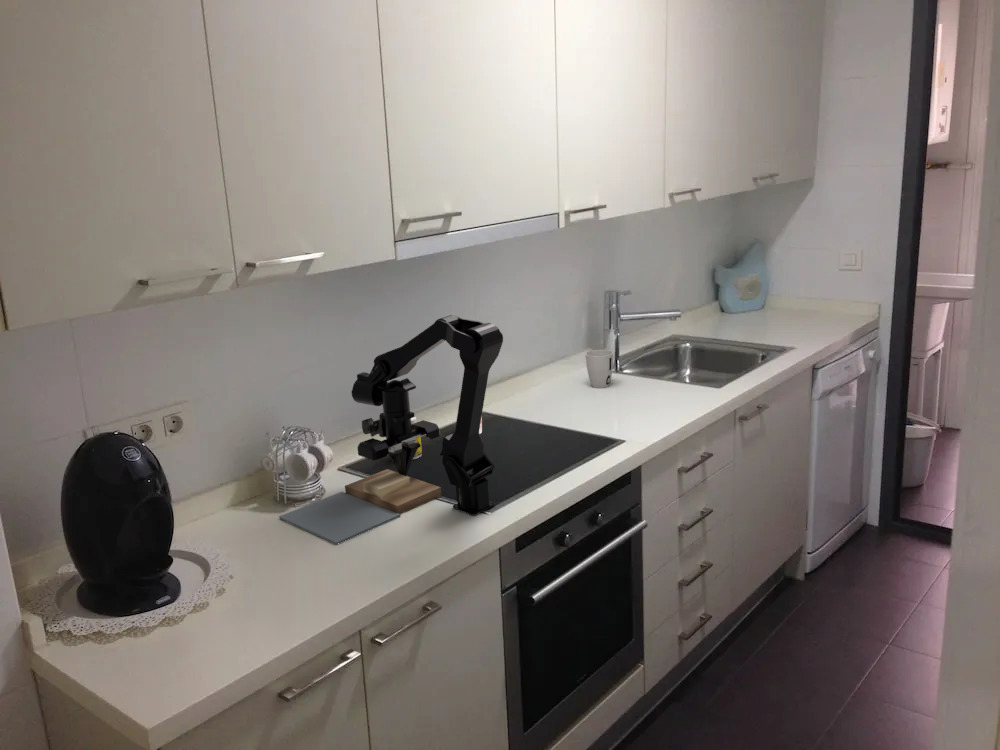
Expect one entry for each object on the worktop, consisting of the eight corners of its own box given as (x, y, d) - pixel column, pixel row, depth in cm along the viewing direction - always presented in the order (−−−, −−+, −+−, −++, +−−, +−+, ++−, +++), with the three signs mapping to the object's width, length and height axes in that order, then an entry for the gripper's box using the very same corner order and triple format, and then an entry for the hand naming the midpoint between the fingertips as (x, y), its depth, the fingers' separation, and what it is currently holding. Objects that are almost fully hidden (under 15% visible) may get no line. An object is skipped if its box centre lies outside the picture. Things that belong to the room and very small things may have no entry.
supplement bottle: (401, 461, 214) (397, 422, 212) (398, 454, 219) (395, 416, 217) (423, 458, 215) (420, 420, 213) (420, 451, 220) (417, 413, 218)
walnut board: (441, 495, 193) (440, 487, 192) (398, 514, 185) (397, 505, 184) (388, 477, 205) (387, 469, 205) (345, 494, 197) (344, 485, 196)
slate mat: (400, 516, 184) (400, 514, 184) (336, 544, 173) (336, 542, 173) (341, 493, 197) (341, 491, 197) (279, 518, 186) (278, 516, 186)
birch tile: (410, 485, 194) (409, 477, 194) (381, 498, 189) (380, 489, 188) (392, 479, 198) (391, 471, 198) (363, 491, 193) (362, 482, 192)
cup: (613, 389, 261) (612, 356, 258) (585, 389, 262) (584, 356, 260) (614, 381, 269) (613, 349, 266) (587, 381, 270) (586, 349, 267)
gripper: (406, 391, 204) (412, 456, 208) (338, 413, 191) (346, 481, 196) (438, 400, 196) (444, 466, 200) (370, 423, 184) (378, 493, 188)
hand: (403, 476), depth 196 cm, fingers closed
